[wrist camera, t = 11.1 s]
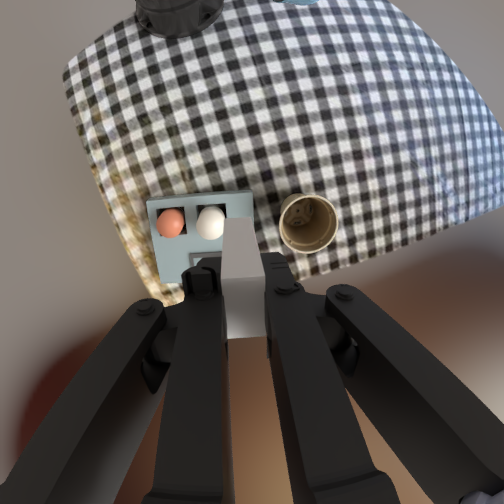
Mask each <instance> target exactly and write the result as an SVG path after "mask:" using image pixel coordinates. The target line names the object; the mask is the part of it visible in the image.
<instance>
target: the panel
mask: <svg viewBox="0 0 504 504" xmlns="http://www.w3.org/2000/svg"><path fill="white" fill-rule="evenodd" d="M219 203H226V214H227V218H241V217H251V219H252V223H253V227H254V212H253V192H252V190H234V191H219V192H205V193H193V194H182V195H172V196H162V197H153V198H149V199H148V200H147V201H146V204H147V211H148V217H149V223H150V229H151V235H152V241H153V246H154V252H155V257H156V262H157V267H158V272H159V276H160V281H161V284H163V283H182V278H181V274H182V273H183V272H184V271H185V270H187V269H188V268H191V267H194V266H196V265H197V262H199V261H200V260H201V259H202V258H206V257H221V256H222V244H223V234H222V235H221V236H220V237H219V238H217V239H214V240H207V239H204V238H203V237H201V236H200V235H199V234H198V232H197V229H196V223H197V220H198V217H199V213H198V205H205V204H219ZM181 206H184V211H185V220H186V228H187V229H186V230H181V232H180V234H179V235H178V236H176V237H174V238H166V237H164V236H162V235H161V234H160V233H159V232H158V230H157V227H156V222H157V219H158V218H159V216H160V208H170V207H181Z"/></svg>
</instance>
